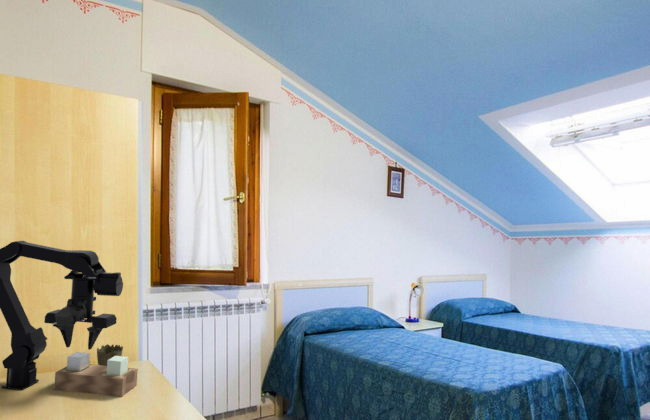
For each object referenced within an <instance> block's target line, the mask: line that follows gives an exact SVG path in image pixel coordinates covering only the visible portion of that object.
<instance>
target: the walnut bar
mask: <svg viewBox="0 0 650 420" xmlns="http://www.w3.org/2000/svg"><path fill="white" fill-rule="evenodd" d="M138 370H139V369H138V368H134V367H133V368H132V367H128V371H127V372H126V373H124V374H123V375H121V376H115V375H107V366H104V365H98V364H92V363H91V364H90V363H89V367H88V368H87V369H85V370H83V371H81V372H74V371H67V366H65V367H63V368H61V369H59V370H58V371H55V372H54V373H55V374H54V387H53V390H54V391H61V392H68V393H79V394H80V393H81V394H89V395H90V394H91V395H98V396H99V395H100V396H108V397H109V396H111V397H118V398H119V397H121V398H122V397H124V396H125V395H126V394H127V393H129V392H130V391H132V390H133V389H135V388H136V387H137V386H138V385H137V384H138V383H137V382H138Z"/></svg>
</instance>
